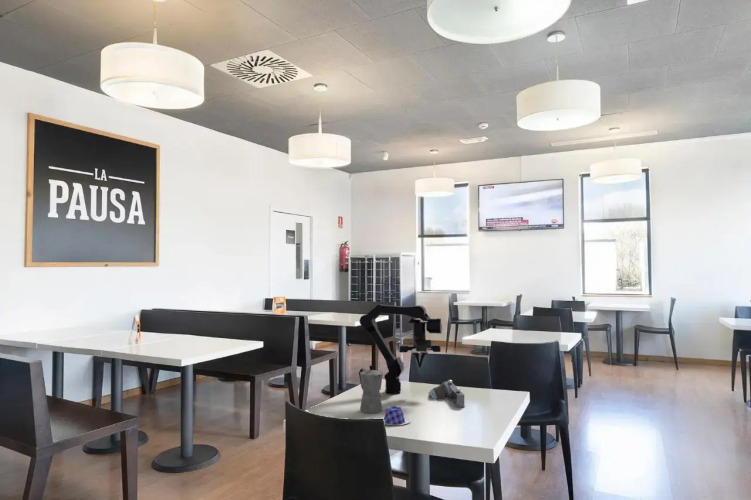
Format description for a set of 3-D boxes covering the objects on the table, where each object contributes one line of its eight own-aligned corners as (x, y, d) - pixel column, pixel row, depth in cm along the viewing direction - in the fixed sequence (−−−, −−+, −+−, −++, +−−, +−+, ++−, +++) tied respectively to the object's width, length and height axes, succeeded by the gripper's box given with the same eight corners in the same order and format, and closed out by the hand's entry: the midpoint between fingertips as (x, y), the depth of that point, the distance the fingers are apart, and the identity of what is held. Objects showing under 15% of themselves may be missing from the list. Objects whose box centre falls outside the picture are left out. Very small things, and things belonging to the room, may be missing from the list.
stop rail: (457, 407, 205) (457, 391, 206) (444, 392, 231) (444, 378, 232) (464, 407, 206) (464, 390, 206) (451, 392, 232) (450, 378, 232)
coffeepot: (390, 412, 197) (390, 366, 198) (370, 416, 192) (370, 369, 193) (369, 404, 210) (369, 361, 211) (349, 407, 205) (350, 363, 206)
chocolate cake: (423, 395, 229) (426, 380, 221) (437, 389, 232) (440, 374, 223) (434, 412, 223) (437, 398, 215) (447, 406, 225) (451, 392, 217)
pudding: (387, 416, 194) (387, 402, 194) (415, 420, 188) (415, 406, 188) (372, 424, 183) (372, 409, 184) (401, 429, 178) (401, 414, 178)
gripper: (400, 335, 221) (401, 371, 221) (442, 334, 223) (443, 370, 222) (398, 332, 233) (398, 366, 232) (438, 332, 234) (438, 365, 233)
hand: (419, 367), depth 229 cm, fingers closed
